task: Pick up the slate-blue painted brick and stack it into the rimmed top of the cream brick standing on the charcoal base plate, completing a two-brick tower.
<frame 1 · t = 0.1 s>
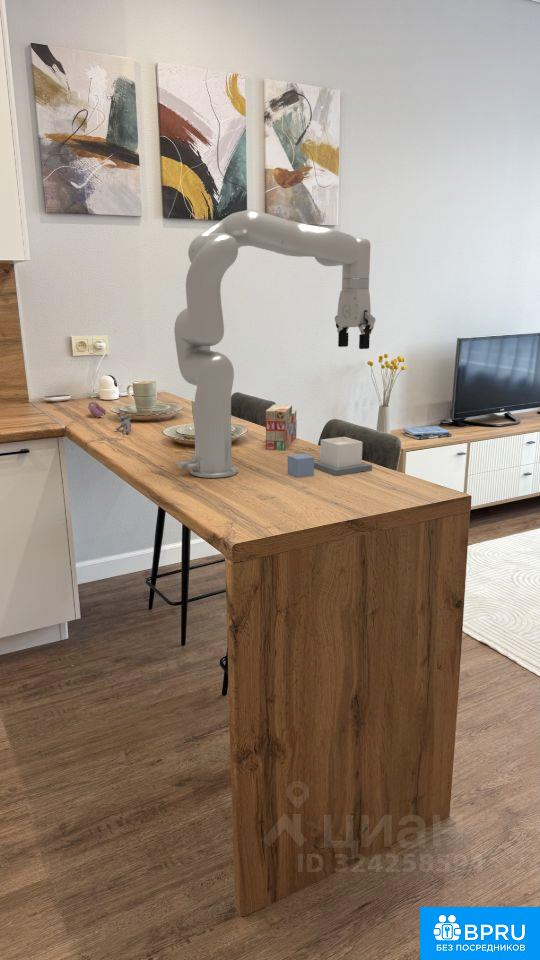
hand: (353, 347, 199), 31 cm above the table, tool pointing down, fingers open, 9 cm apart
top brick: (300, 474, 184), on the table
stack of blocks: (281, 444, 223), on the table
purple rounded piece: (97, 417, 271), on the table
elephant figurine: (128, 433, 239), on the table
tower base: (340, 468, 190), on the table
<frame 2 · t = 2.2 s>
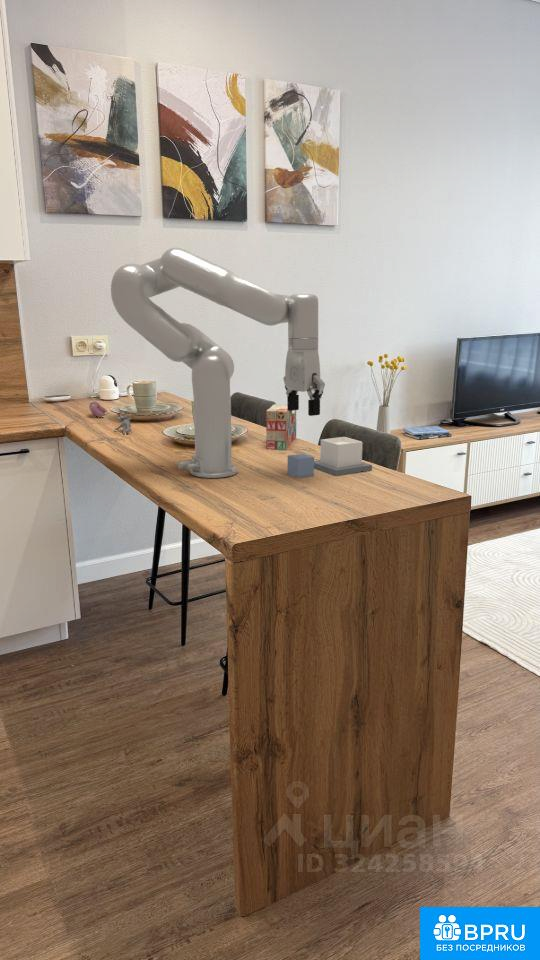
hand: (303, 412, 179), 16 cm above the table, tool pointing down, fingers open, 9 cm apart
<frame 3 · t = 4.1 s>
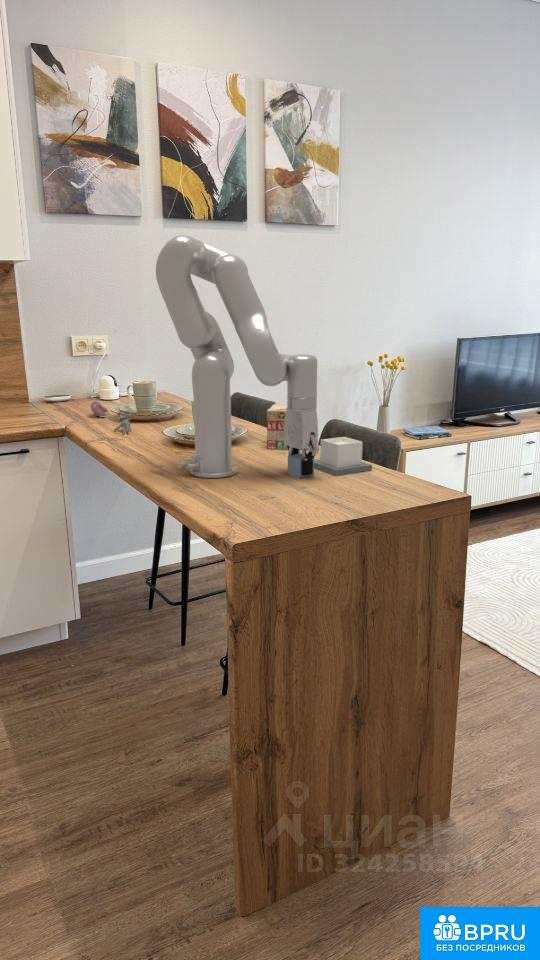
hand: (300, 471, 183), 1 cm above the table, tool pointing down, fingers closed on top brick, 5 cm apart
top brick: (300, 474, 184), on the table, touching gripper
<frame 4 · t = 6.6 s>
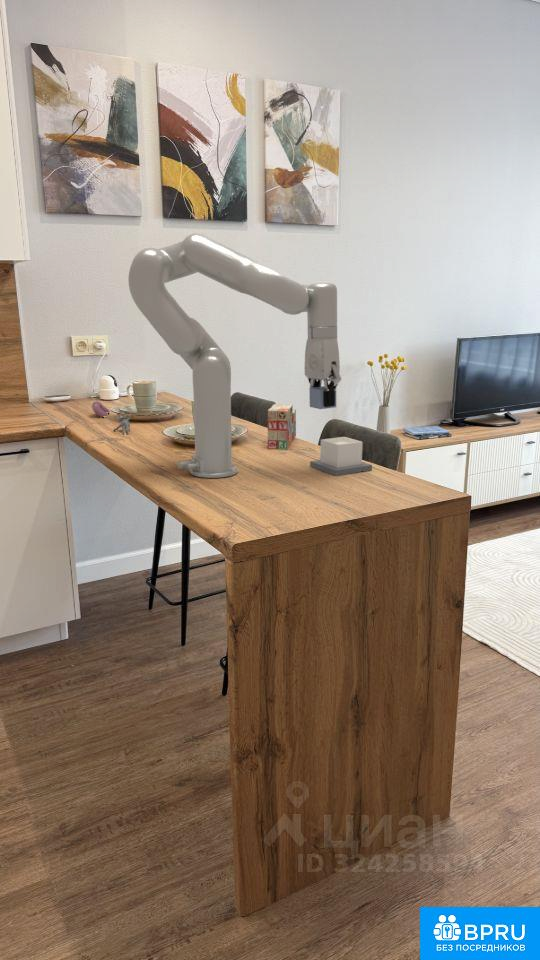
hand: (323, 404, 182), 18 cm above the table, tool pointing down, fingers closed on top brick, 4 cm apart
top brick: (323, 407, 182), point 17 cm above the table, touching gripper
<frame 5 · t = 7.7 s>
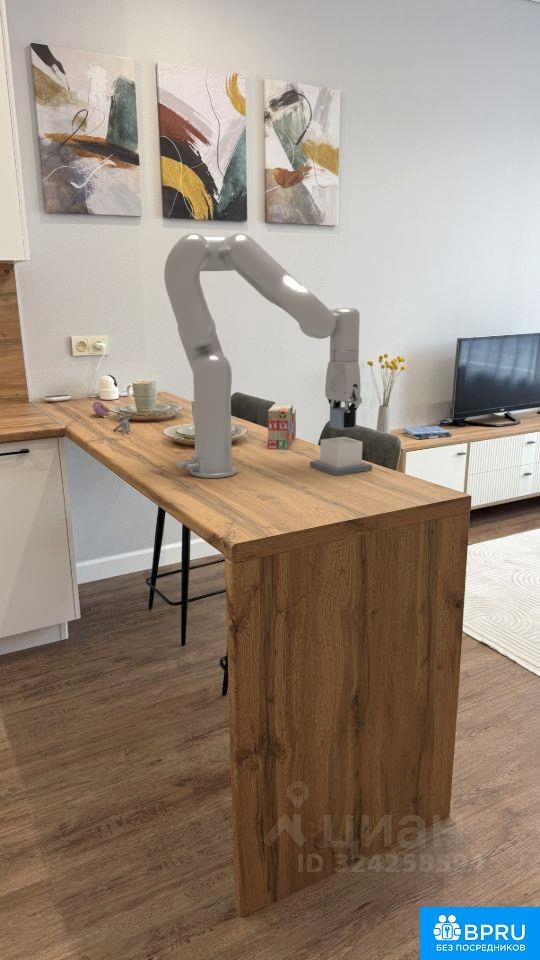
hand: (342, 424, 187), 12 cm above the table, tool pointing down, fingers closed on top brick, 4 cm apart
top brick: (342, 427, 187), point 11 cm above the table, touching gripper
when the fingers open (8 cm above the table, at t = 8.9 s): top brick stays where it is, resting on tower base.
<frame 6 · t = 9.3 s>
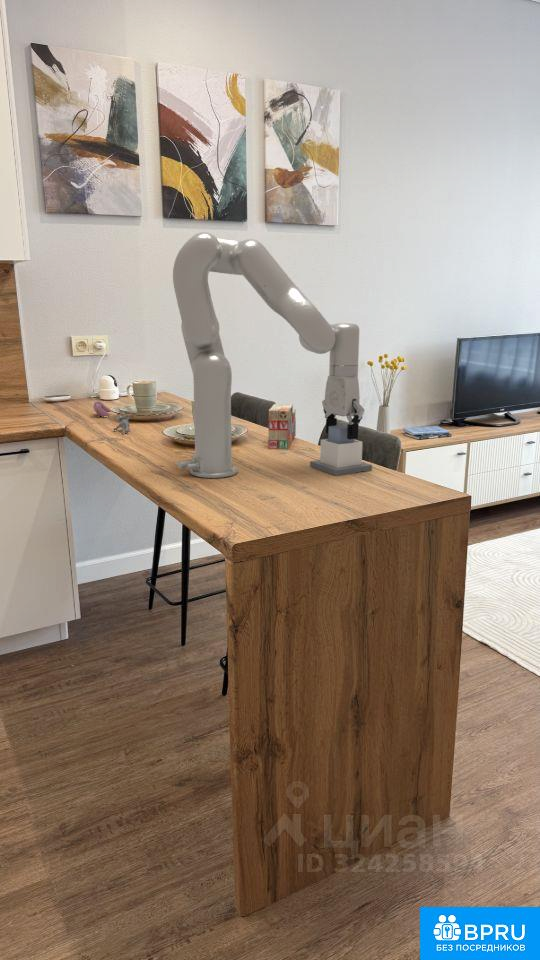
hand: (341, 435, 188), 9 cm above the table, tool pointing down, fingers open, 9 cm apart
top brick: (341, 445, 188), point 6 cm above the table, touching tower base
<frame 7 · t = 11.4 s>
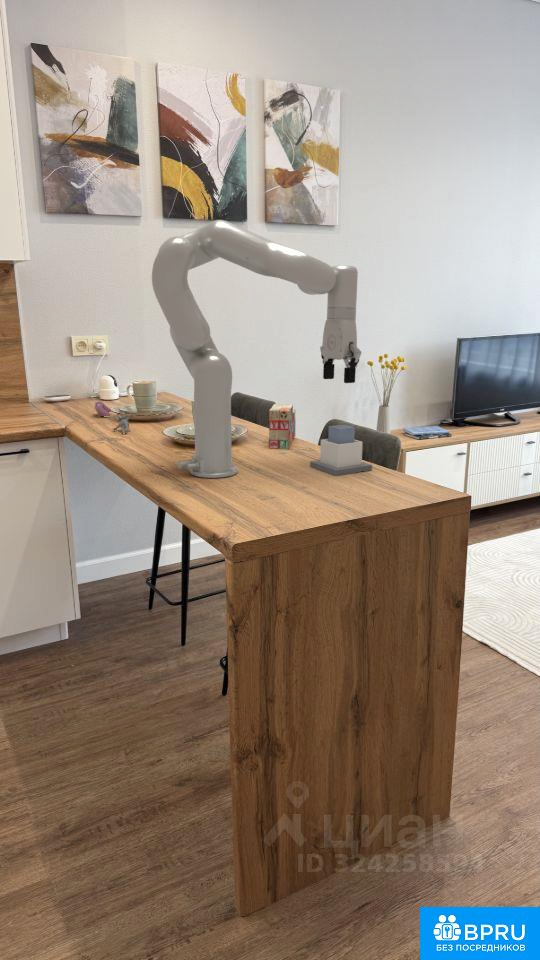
hand: (338, 380, 187), 23 cm above the table, tool pointing down, fingers open, 9 cm apart
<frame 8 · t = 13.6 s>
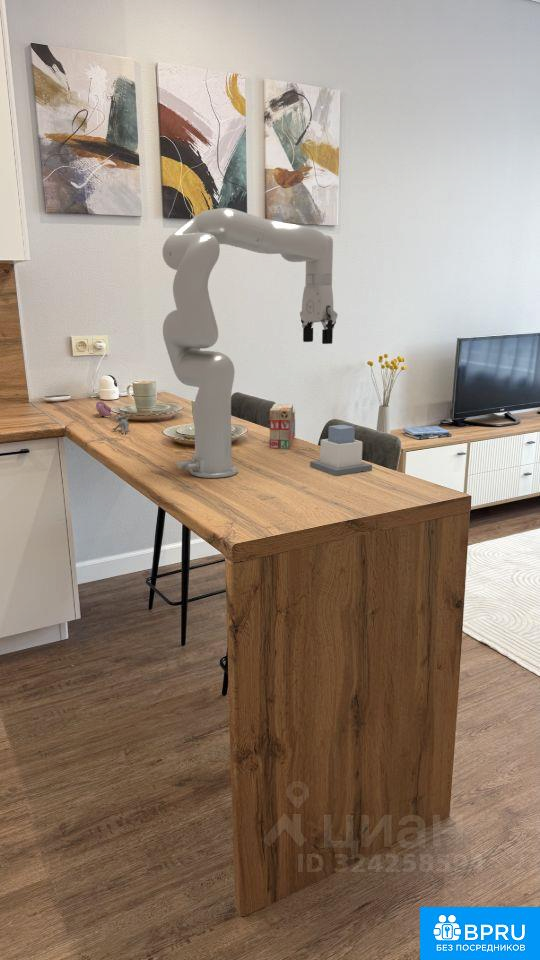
hand: (317, 342, 202), 32 cm above the table, tool pointing down, fingers open, 9 cm apart
at the end: top brick 0.0 cm off-centre on the tower base, point 6.5 cm above the tower base's base; top brick tilted 0°; the gripper is holding nothing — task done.
